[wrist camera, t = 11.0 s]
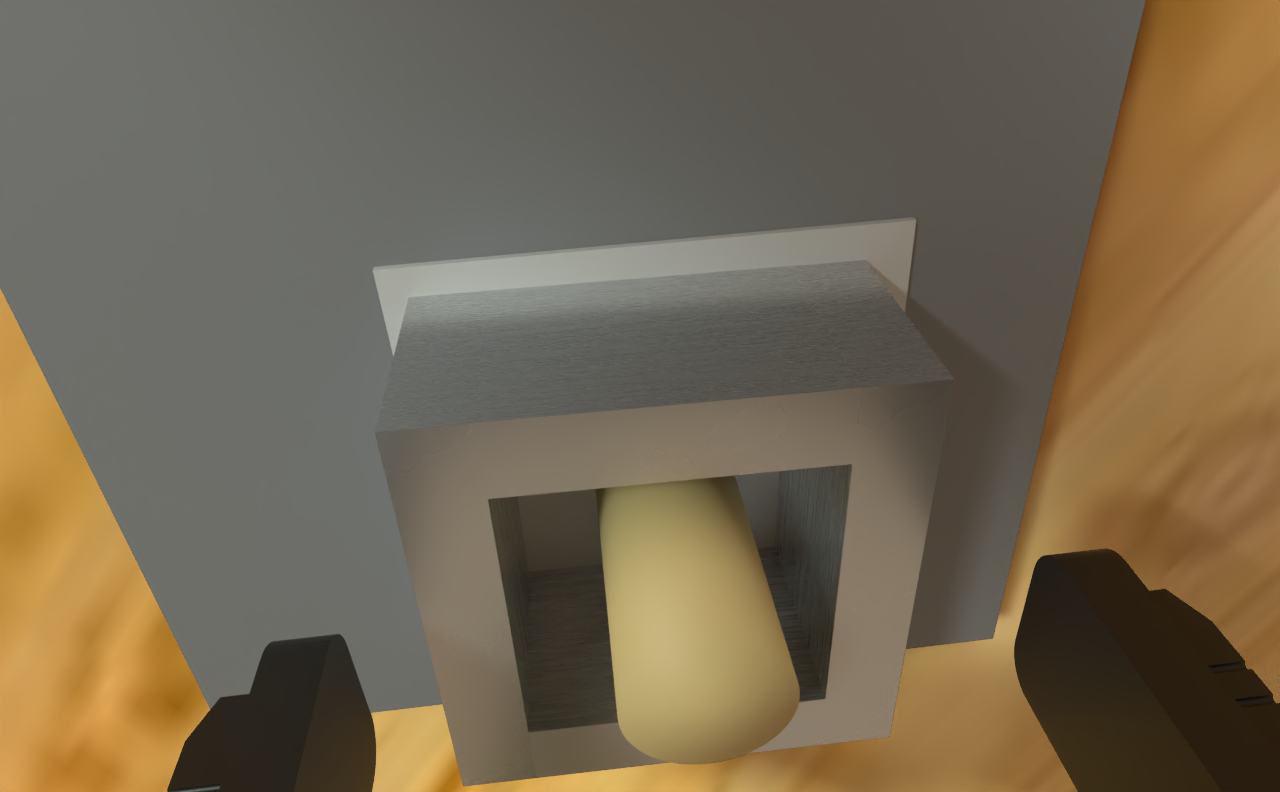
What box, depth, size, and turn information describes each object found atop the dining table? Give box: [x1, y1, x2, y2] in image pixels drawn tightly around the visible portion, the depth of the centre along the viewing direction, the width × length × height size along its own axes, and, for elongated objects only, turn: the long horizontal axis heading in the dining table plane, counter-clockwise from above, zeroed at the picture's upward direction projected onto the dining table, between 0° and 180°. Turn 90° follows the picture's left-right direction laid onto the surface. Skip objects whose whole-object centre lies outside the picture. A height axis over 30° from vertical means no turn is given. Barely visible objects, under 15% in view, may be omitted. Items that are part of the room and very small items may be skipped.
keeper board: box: [0, 0, 1146, 764], centre depth 10 cm, size 16×14×6 cm
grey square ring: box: [375, 260, 954, 786], centre depth 12 cm, size 6×6×3 cm
